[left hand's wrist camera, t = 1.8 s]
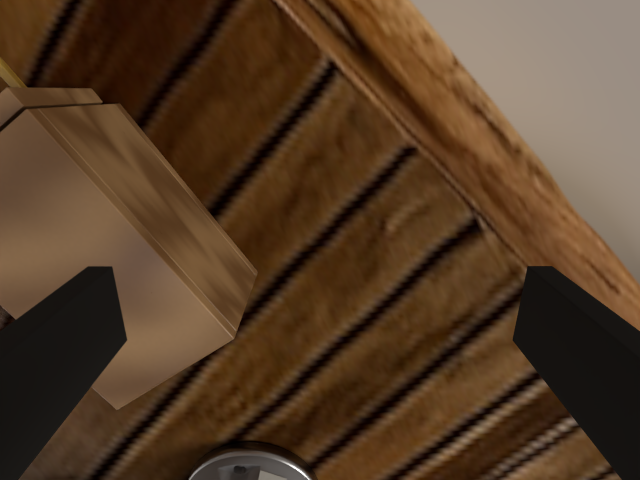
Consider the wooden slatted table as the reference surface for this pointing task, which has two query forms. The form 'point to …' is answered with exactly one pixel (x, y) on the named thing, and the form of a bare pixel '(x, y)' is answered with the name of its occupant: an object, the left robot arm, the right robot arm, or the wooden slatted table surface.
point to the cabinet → (117, 240)
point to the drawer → (37, 97)
